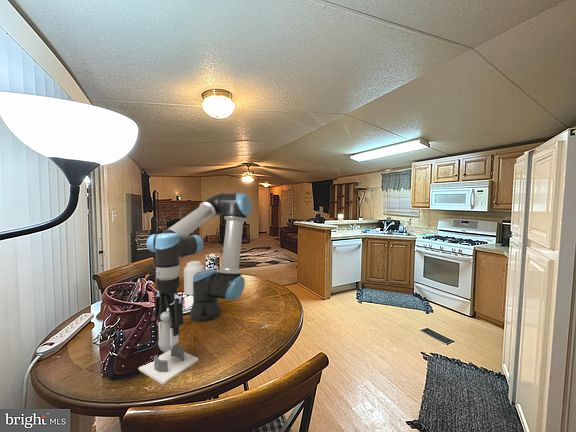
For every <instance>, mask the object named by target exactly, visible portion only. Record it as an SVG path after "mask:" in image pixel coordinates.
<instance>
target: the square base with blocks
mask: <svg viewBox="0 0 576 432" xmlns="http://www.w3.org/2000/svg"><path fill="white" fill-rule="evenodd" d="M157 357H158V354H155V355H153V359H154V361H153V362H150V363H148V362H147V363H148V364H146V363H145V364H146V365H144V364H143V366H142V365H140V366H139V367H138V368H137V369H138V370H139V372H141V373H142V374H144V375H146V376H147V377H149V378H151V379H152V380H154V381H156V382H157V383H159V384H160V385H162V386H163V385H165V384H167V383H168V382H169V381H171V380H173V379H174V378H176V377H177V376H178V375H180V374H182V372H184V371H186V370H188V369H189V368H190V367H191V366H193V365H194V364H196V363H198V361H199V357H197V356H194V355H192V354H190V353H188V352H186V351H185V350H184V347H183V346H180V345H175V346H174V347H173V349H172V350H170V351H166V352H164V353H162V354H160V355H159V357H158V358H157Z"/></svg>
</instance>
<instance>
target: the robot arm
mask: <svg viewBox="0 0 576 432" xmlns="http://www.w3.org/2000/svg"><path fill="white" fill-rule="evenodd" d="M252 212H253V205H252V200H251V198H250V197H249V195H248V194H246V193H240V192H235V193H234V192H232V193H224V192H222V193H218V194H214V195H212V196H210V197H209V198H207V199H205V200H203V201H202V202H200V204H199V206H198V207H197V208H195V209H194V210H193V211H192V212H190V213H188V214H187V215H186V216H184V217H183V218H181V219H180V220H179V221H177V222H175V224H173V225H171V226H170V227H169V228H167V229H166V230H164V231H163V232H161V233H156V234H155V233H153V234H151V235H149V236H148V237H147V240H146V247H147V248H146V249H148V251H150V252H152V253H155V277H156V279H155V289H156V291H153V297H154V301H153V302H154V305H155V309H154V308H153V309H154V311H153V315H154V314H155V318H154V319H156V320H157V322H158V323H157V325H158V337H159V336H160V331H161V327H162V322H163V321H161V319H160V316H161V314H162V313H163V312H166V311H169V314H170V319H171V325H172V326H171V327H170V346H173V345H174V344H175V345H176V344H178V343H179V341H180V340H179V335H180V326H182V325H184V307H183V306H184V305H183V304H184V296H179V294H178V288H179V287H180V286H181V285H180V283H181V282H180V281H181V280H180V278H181V277H180V275H181V272H180V271H181V270H180V269H181V267H180V258H184V257H188V256H194V255H196V254H198V253H201V252H202V250H203V249H204V241H203V238H202V237H201V236H200V235H197V234H196V235H193V232H194V231H195V230H196V229H198V228H199V227H200V226H202V225H203V224H204V223H206V222H207V221H208V220H209V219H214V218H215V217H216V216H223V218H224V220H225V221H226V223H225V230H224V231H225V233H224V242H223V250H222V258H221V260H222V261H221V265H220V267H221V268H220V269H218V270H216V269H214V268H212V269H204V271H200V272H197V273H195V274H194V276H193V295H192V300H193V302H192V306H191V309H190V311H189V318H190V320H191V321H195V322H207V321H212V320H215V319H216V318H218V317H219V316H220V315H221V306H220V304H219V301H218V299H223V300H226V301H235V300H237V299H239V298H240V297H241V295H242V293H243V292H244V289H245V285H246V281H245V278H244V277H243V275H242V271H241V270H240V269H239V268H240V258H241V257H240V256H241V247H242V239H243V227H244V222H246V221H247V217H249V216H251V213H252Z"/></svg>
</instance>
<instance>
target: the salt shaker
mask: <svg viewBox="0 0 576 432" xmlns="http://www.w3.org/2000/svg"><path fill="white" fill-rule="evenodd" d="M160 319H161V321H163V322H162V327H161V331H160V336H159V335H158V340H157V341H158V342H157V344H158V347H159V349H160V351H161V352H164V353H165V352H167V351H170V350H172V349H173V347H174V346H176V344H174V345H173V346H170V327H171V326H172V325H171V319H170V314H169V310H167V311H166V312H163V313H162V314H161V316H160Z"/></svg>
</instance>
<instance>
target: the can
mask: <svg viewBox="0 0 576 432" xmlns="http://www.w3.org/2000/svg"><path fill="white" fill-rule="evenodd" d="M204 270H205V267H204V265H203V264H202V262H201V261H199V260H192V261H189V262H187V263H186V266H185V267H184V269H183V293H184V294H185V293H186V294H185V295H187V296H193V276H194V274H195V273H197V272H200V271H204Z"/></svg>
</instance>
